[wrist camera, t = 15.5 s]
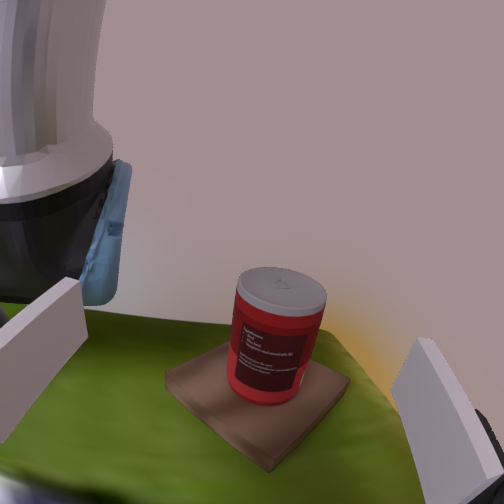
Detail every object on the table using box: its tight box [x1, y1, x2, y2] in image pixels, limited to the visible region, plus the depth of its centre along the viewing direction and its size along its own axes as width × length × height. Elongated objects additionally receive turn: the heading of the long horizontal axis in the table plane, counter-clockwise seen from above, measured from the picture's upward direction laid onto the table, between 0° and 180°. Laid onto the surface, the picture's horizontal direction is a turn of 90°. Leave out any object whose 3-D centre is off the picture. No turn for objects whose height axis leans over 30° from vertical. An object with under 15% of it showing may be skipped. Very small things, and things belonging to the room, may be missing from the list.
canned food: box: [226, 267, 327, 406], centre depth 27 cm, size 8×8×11 cm
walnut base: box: [165, 340, 350, 472], centre depth 30 cm, size 14×14×2 cm
